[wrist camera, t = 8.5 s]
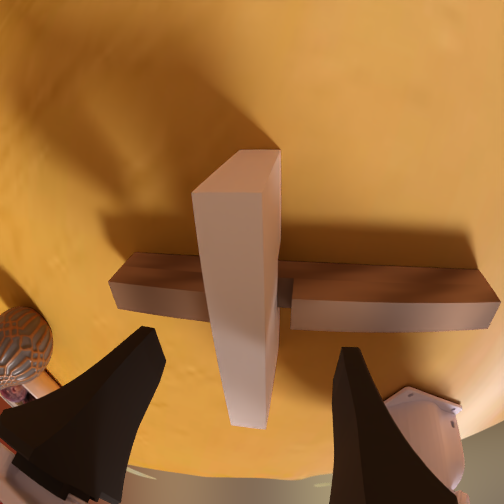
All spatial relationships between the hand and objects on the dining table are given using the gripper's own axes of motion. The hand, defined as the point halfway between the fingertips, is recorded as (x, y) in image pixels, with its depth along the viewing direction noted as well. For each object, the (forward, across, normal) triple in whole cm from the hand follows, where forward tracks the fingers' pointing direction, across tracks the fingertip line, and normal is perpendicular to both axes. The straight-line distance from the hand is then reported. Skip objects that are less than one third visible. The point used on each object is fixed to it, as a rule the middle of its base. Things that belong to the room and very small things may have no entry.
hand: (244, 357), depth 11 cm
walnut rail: (+6, -2, 0) cm, 6 cm away
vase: (+6, +23, +8) cm, 25 cm away
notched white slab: (+6, 0, 0) cm, 6 cm away
